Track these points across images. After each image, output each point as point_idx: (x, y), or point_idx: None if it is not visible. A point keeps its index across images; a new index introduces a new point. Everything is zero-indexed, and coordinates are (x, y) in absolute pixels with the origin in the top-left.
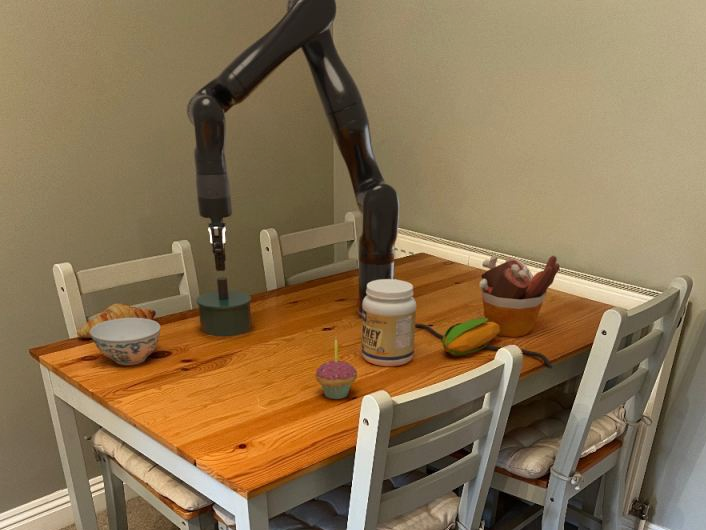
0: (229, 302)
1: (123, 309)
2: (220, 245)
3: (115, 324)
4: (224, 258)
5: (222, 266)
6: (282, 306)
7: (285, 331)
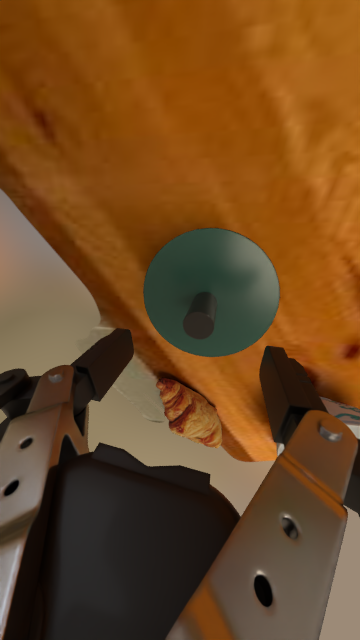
0: (242, 291)
1: (196, 428)
2: (88, 384)
3: (280, 452)
4: (124, 336)
5: (301, 370)
6: (73, 158)
7: (245, 138)
